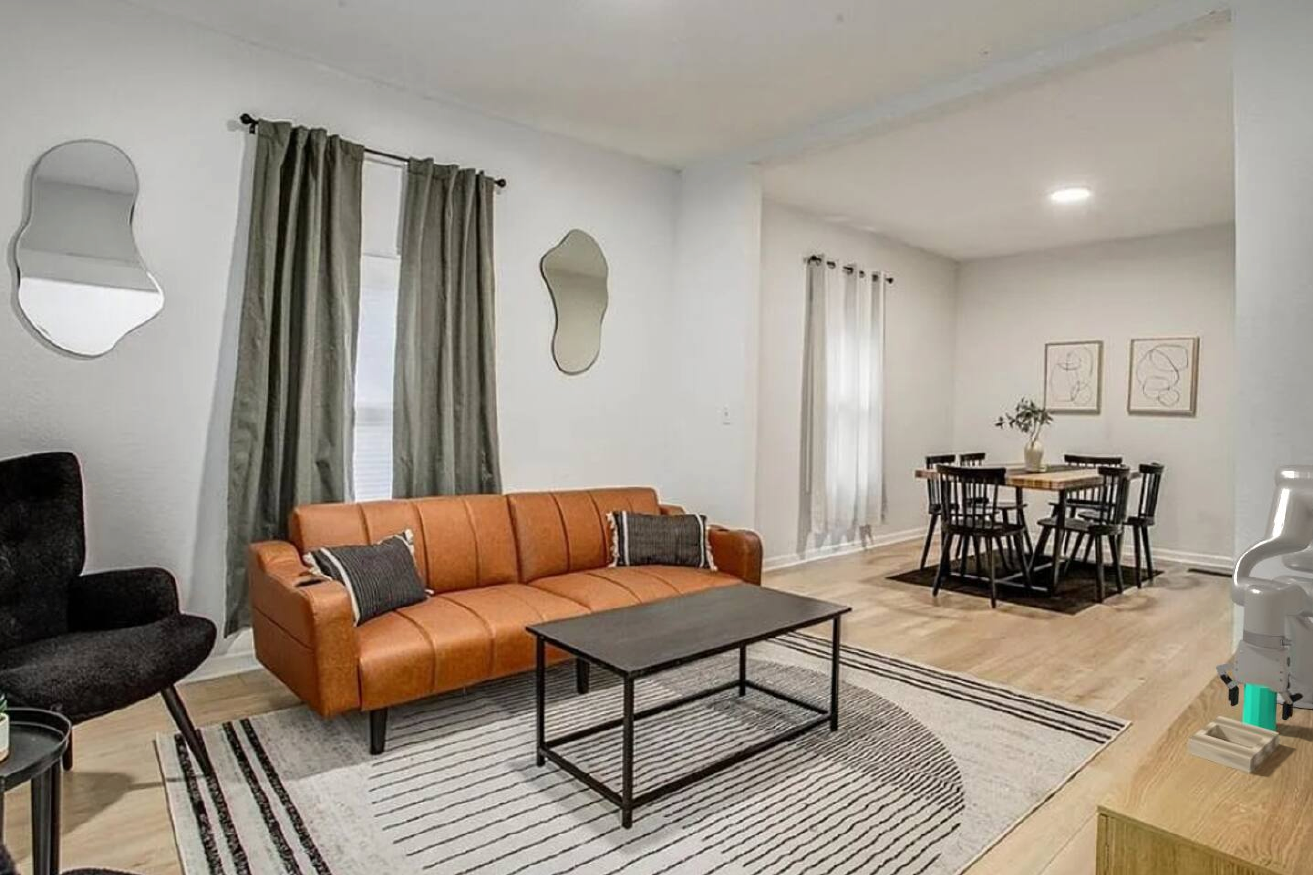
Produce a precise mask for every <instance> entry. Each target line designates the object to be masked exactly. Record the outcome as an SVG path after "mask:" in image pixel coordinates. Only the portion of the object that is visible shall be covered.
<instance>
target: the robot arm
mask: <svg viewBox="0 0 1313 875" xmlns="http://www.w3.org/2000/svg"><path fill="white" fill-rule="evenodd" d="M1274 484H1275V488H1274V491H1273V494H1272V500H1271V503H1270V509H1269V513H1268V519H1267V524H1266V526H1265V533H1264V536H1263V537H1262V538H1261V539H1260V540H1258V541H1256V542H1254V543H1253V544H1251V545H1250V546H1249V547H1247V548H1245V550H1244V551H1243V552H1242V553H1241V554H1240V556H1239V557H1238V558H1237V560H1236V562H1235V564H1234V567H1233V570H1232V574H1231V575H1232V576H1231V580H1230V585H1229V595H1230V596H1229V597H1230V600H1231V601H1232V602H1233V603H1234V604H1235V605H1237V606H1239V607H1242V608H1243V622H1242V624H1243V627H1242V638H1241V639H1240V640H1239V641H1238V644H1237V647H1236V651H1235V656H1234V662H1229V663H1228V662H1227V663H1223V664H1219V665H1216V667H1215V669H1216V671H1217V673H1218V675H1219V676H1220V677H1219V678H1220V679H1221V681H1222V682H1223V683H1224V684H1225V686H1226V688H1227V689H1228V696H1227V698H1228V701H1229V702H1230V706H1231V707H1236V705H1238V704H1239V699H1240V698H1239V696H1240V688H1239V686H1238V685H1240V684H1241V685H1246V684H1250V685H1251V686H1254V687H1259V688H1270V691H1272V692H1276V693H1277V704H1281V705H1282V710H1281V720H1283V721H1287V720H1289V718H1293V715H1294V708H1299V709H1307V710H1309V709H1310V710H1313V622H1312V620H1311V619H1312V618H1313V578H1312V577H1307V576H1305V577H1304V576H1298V575H1290V574H1289V575H1287V574H1286V575H1279V576H1275V577H1273V579H1267V578H1261V577H1254V576H1251V572H1252V570H1253V569H1254V568H1255V566H1256V565H1257V564H1259V563H1261V562H1263V561H1264V560H1268V559H1270V558H1274V557H1278V556H1279V557H1280V556H1281V562H1282V565H1283V566H1284V567H1286V568H1288V569H1290V570H1292V571H1295V572H1301V573H1306V574H1313V464H1284V465H1282V466H1280V467H1277V469H1276V470H1275V472H1274ZM1310 618H1311V619H1310ZM1228 670H1232V678H1233V679H1232V678H1231V677H1230V676H1229V675H1228V674H1227V671H1228Z"/></svg>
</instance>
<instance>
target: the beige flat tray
mask: <svg viewBox="0 0 1313 875" xmlns="http://www.w3.org/2000/svg"><path fill="white" fill-rule="evenodd" d="M1279 739H1280V732H1277V731H1275V732H1274V731H1271V730H1267V729H1264V728H1260V727H1257V726H1253V725H1250V724H1246V723H1243V721H1239V720H1235V719H1233V718H1228V717H1225V716H1222V715H1221V716H1220V715H1219V716H1217V717H1216V718H1214V719H1213V720H1212V721H1211V722H1209V723H1208V724H1207V725H1205V726H1203V727H1202V728H1201V729H1199V730H1198V731H1197V732H1195V733H1194V734H1193V735H1192V736H1191V737H1189V738H1188V739H1187V747H1186V753H1187V754H1189V755H1193V756H1195V757H1198V758H1201V759H1205V760H1208V761H1210V762H1214V763H1216V764H1219V765H1223V766H1225V767H1229V768H1231V769H1235V770H1238V771H1241V772H1244V773H1247V774H1252V772H1253V771H1254V770H1255V769H1256V768H1257V767H1259V765H1260V764H1261V763H1262V762H1263V761H1265V760H1266V759H1267V758H1268V757H1269V755H1271V754H1272V753H1273V752H1274V751H1275V750H1276V749H1277V748H1278V747H1279V743H1280V742H1279V741H1280V740H1279Z"/></svg>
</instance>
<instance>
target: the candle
mask: <svg viewBox="0 0 1313 875" xmlns="http://www.w3.org/2000/svg"><path fill="white" fill-rule="evenodd" d="M1243 685H1244V684H1243ZM1243 687H1244V688H1243V704H1242V705H1243V707H1242V708H1243V709H1242V722H1243V723H1246V724H1250V725H1253V726H1257V727H1260V728H1264V729H1267V730H1271V731H1274V732H1276V729H1277V728H1276V727H1277V726H1276V724H1277V708H1278V707H1277V706H1278V703H1277V693H1276V692H1272V691H1270V688H1259V687H1254V686H1251V685H1250V684H1246V685H1244V686H1243Z"/></svg>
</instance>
